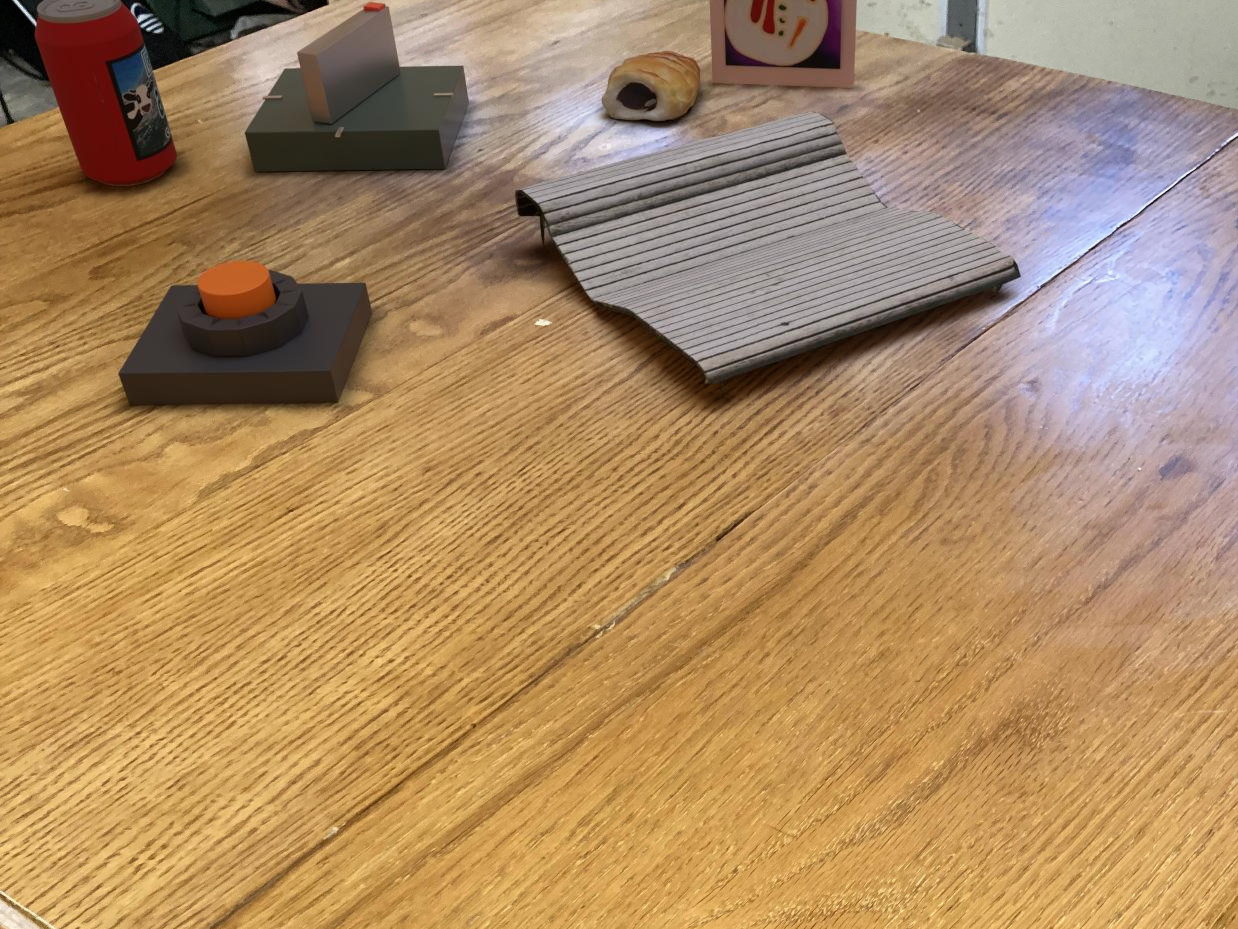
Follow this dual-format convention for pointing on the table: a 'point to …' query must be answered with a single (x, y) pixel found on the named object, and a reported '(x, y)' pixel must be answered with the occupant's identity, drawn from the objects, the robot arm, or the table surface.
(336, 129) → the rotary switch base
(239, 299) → the button
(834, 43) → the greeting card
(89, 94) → the beverage can
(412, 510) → the table surface
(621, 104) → the pastry
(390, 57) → the grey rectangular slab
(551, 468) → the table surface
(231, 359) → the button box
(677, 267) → the mat
